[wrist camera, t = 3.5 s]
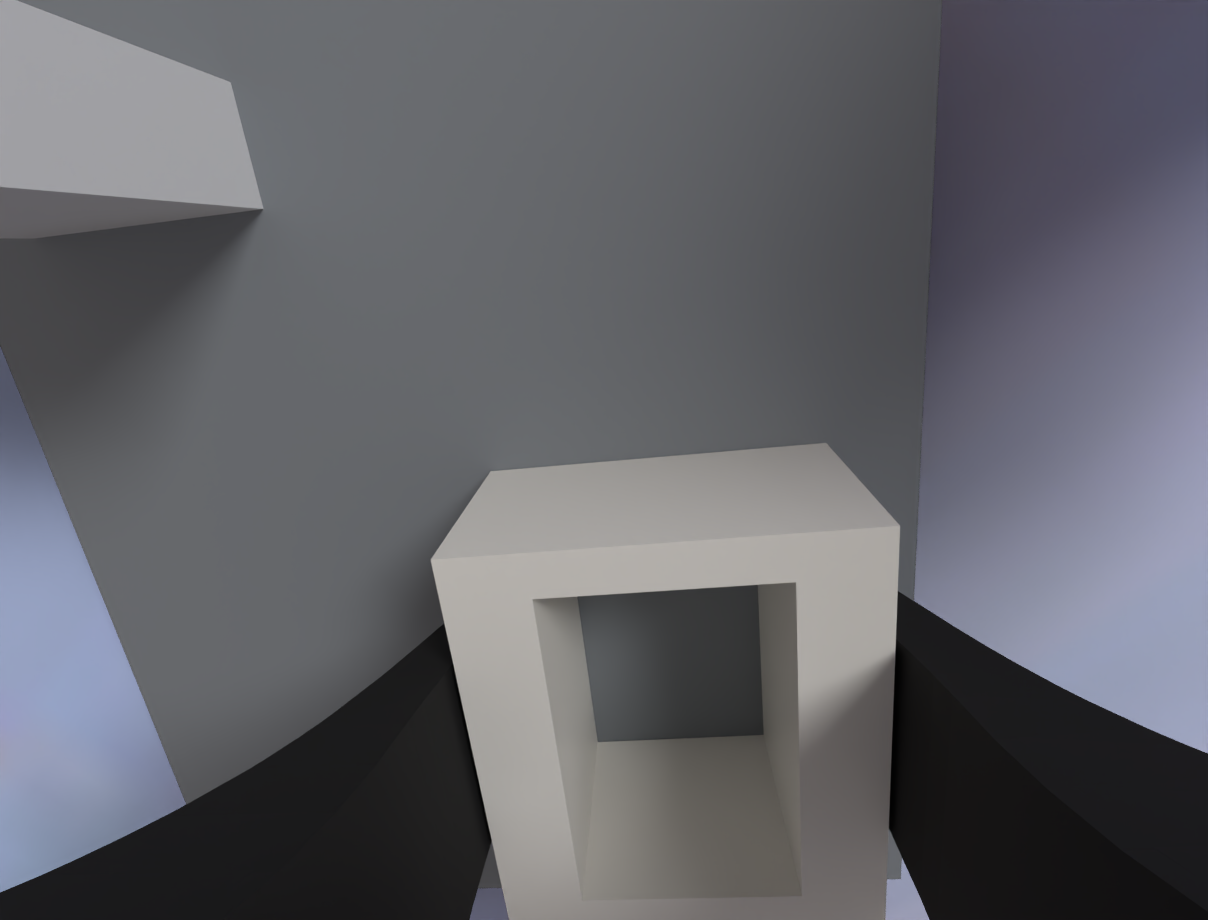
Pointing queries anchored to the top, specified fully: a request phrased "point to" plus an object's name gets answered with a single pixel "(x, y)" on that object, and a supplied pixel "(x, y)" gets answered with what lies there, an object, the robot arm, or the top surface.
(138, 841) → the robot arm
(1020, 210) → the top surface
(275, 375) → the board
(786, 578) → the open rectangular frame
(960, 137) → the top surface
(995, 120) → the top surface
